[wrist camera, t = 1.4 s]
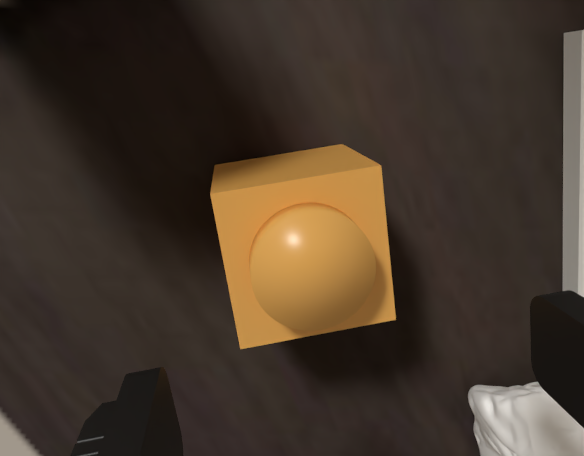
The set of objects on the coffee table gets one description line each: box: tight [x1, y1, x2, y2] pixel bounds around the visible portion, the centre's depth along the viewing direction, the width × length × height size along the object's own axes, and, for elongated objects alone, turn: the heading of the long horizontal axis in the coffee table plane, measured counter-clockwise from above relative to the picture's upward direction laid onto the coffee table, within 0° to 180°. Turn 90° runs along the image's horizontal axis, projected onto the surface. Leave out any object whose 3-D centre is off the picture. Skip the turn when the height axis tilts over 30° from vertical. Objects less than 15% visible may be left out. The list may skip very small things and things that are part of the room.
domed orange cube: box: [210, 144, 396, 349], centre depth 20 cm, size 6×6×7 cm
